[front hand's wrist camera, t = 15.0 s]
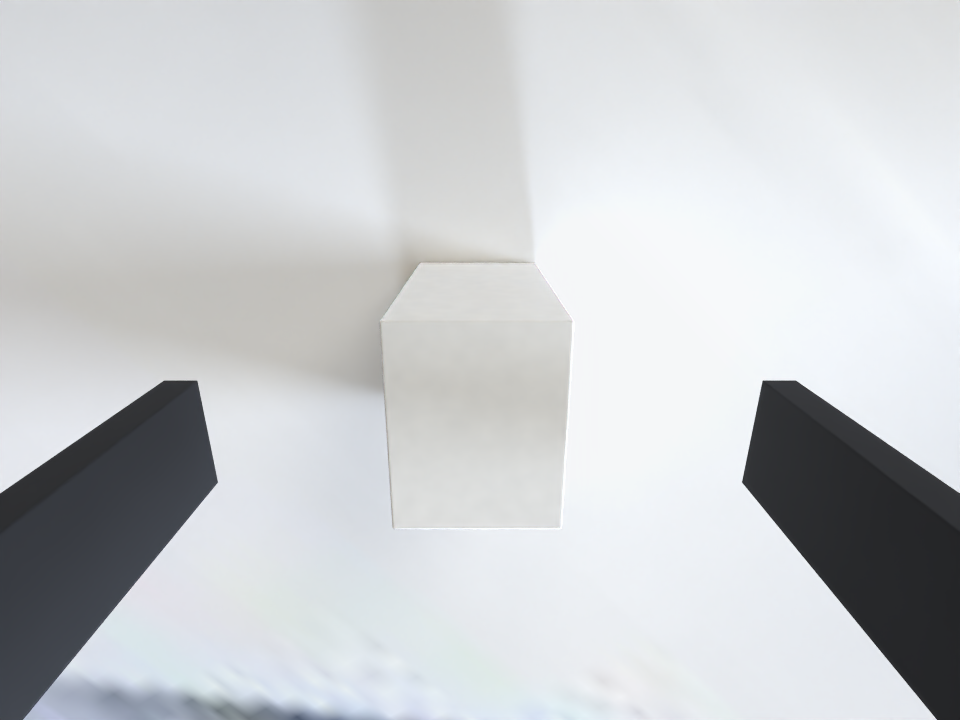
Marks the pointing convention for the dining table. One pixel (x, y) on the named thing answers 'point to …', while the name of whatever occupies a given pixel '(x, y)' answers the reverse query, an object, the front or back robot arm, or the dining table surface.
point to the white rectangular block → (477, 397)
